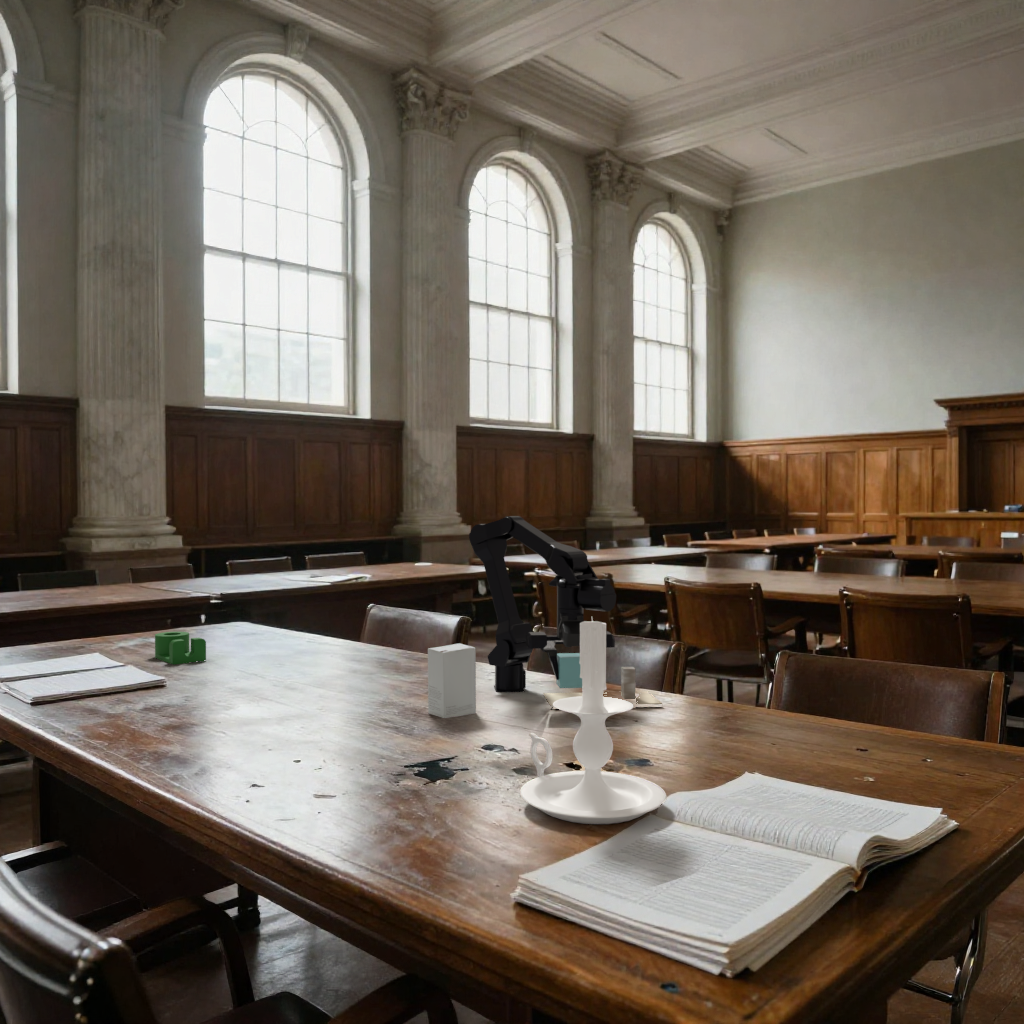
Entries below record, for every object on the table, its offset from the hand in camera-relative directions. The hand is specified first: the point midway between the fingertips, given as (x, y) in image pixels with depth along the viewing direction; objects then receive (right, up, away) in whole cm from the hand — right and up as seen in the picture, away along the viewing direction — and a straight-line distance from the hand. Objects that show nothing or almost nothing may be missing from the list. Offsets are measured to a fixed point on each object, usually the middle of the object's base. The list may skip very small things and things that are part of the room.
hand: (569, 679), depth 202 cm
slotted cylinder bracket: (-105, -5, +55) cm, 119 cm away
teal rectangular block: (0, -1, 0) cm, 1 cm away
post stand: (+7, -5, +1) cm, 9 cm away
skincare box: (-25, -6, -15) cm, 30 cm away
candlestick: (-2, -7, -69) cm, 69 cm away
